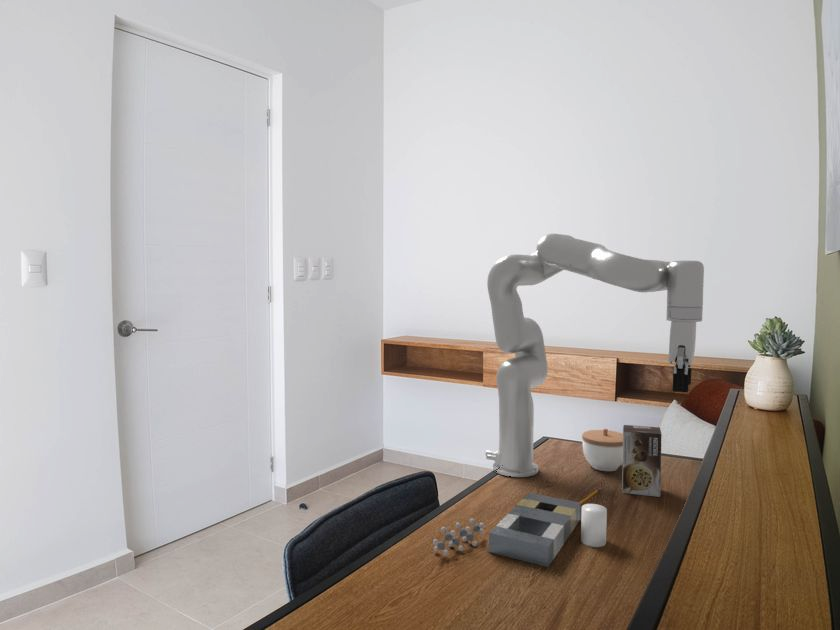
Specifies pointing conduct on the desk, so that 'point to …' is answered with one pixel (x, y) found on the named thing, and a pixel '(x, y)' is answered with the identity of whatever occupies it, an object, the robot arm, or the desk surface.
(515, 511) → the socket block
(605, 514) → the white capsule cylinder
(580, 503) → the pencil
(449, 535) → the molecular model
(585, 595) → the desk surface
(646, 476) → the coffee box
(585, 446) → the lidded bowl
